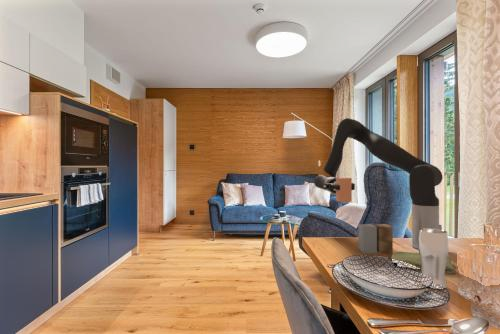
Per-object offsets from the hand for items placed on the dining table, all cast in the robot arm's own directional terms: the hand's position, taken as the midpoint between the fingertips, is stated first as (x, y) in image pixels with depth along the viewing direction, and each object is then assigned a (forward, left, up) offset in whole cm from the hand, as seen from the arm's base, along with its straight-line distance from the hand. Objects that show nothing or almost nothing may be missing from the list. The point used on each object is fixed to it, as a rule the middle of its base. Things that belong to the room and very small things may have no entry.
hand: (345, 187), depth 117 cm
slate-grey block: (-5, +9, -24) cm, 26 cm away
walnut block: (-11, +9, -24) cm, 28 cm away
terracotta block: (0, -3, -6) cm, 7 cm away
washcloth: (-17, +24, -25) cm, 38 cm away
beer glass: (-10, +40, -24) cm, 48 cm away
